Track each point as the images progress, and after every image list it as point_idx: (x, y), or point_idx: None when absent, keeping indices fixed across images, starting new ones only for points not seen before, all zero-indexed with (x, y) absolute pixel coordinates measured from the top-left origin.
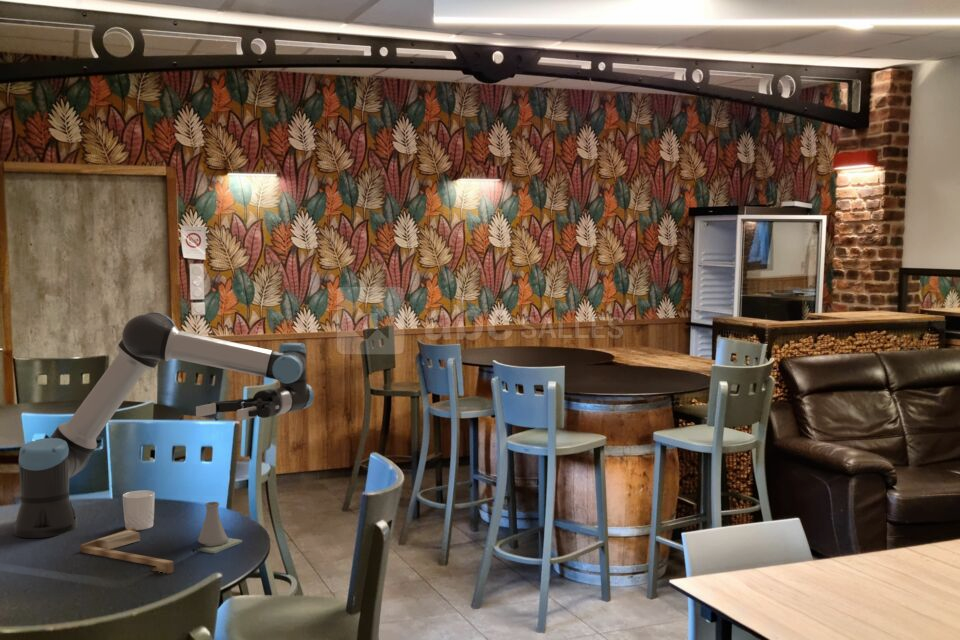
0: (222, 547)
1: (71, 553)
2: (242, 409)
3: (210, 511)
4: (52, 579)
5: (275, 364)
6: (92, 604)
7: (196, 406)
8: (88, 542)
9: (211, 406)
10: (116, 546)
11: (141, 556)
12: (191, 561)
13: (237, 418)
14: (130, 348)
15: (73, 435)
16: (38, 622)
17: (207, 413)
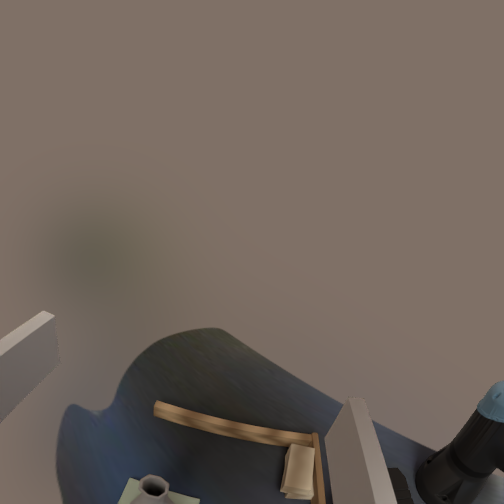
0: (124, 493)
1: None
2: (28, 321)
3: (152, 483)
4: (273, 391)
5: None
6: (186, 351)
7: (362, 400)
8: (317, 442)
9: (363, 502)
10: (286, 459)
11: (207, 419)
12: (149, 449)
13: (57, 352)
14: None
15: None
16: (204, 330)
17: (336, 490)
